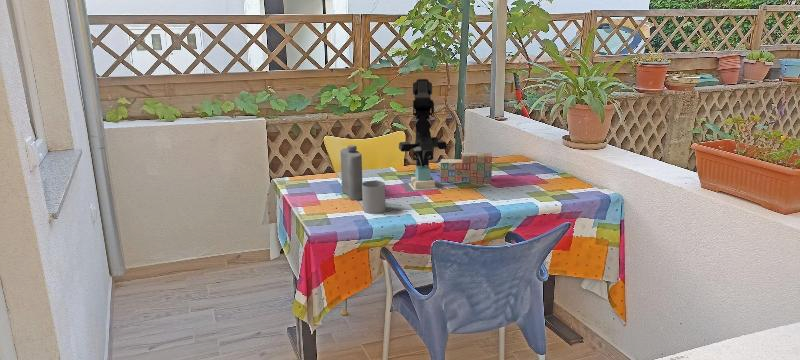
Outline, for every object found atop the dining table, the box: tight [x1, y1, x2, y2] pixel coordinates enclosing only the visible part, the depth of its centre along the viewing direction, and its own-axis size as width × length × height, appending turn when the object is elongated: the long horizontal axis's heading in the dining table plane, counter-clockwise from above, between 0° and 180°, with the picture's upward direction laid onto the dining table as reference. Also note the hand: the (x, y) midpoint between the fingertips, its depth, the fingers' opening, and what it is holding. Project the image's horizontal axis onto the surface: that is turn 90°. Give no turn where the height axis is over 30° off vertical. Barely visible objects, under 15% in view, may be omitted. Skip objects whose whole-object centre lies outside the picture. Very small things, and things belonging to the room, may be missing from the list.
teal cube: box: [414, 165, 431, 181], centre depth 236 cm, size 5×5×5 cm
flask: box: [339, 144, 363, 201], centre depth 228 cm, size 15×6×20 cm, turn 23°
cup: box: [362, 180, 387, 215], centre depth 211 cm, size 8×8×10 cm
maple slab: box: [410, 176, 436, 189], centre depth 237 cm, size 8×8×3 cm
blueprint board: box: [400, 180, 446, 193], centre depth 238 cm, size 12×16×1 cm
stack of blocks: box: [439, 152, 493, 185], centre depth 245 cm, size 21×6×12 cm, turn 86°
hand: (422, 166), depth 236 cm, fingers closed
